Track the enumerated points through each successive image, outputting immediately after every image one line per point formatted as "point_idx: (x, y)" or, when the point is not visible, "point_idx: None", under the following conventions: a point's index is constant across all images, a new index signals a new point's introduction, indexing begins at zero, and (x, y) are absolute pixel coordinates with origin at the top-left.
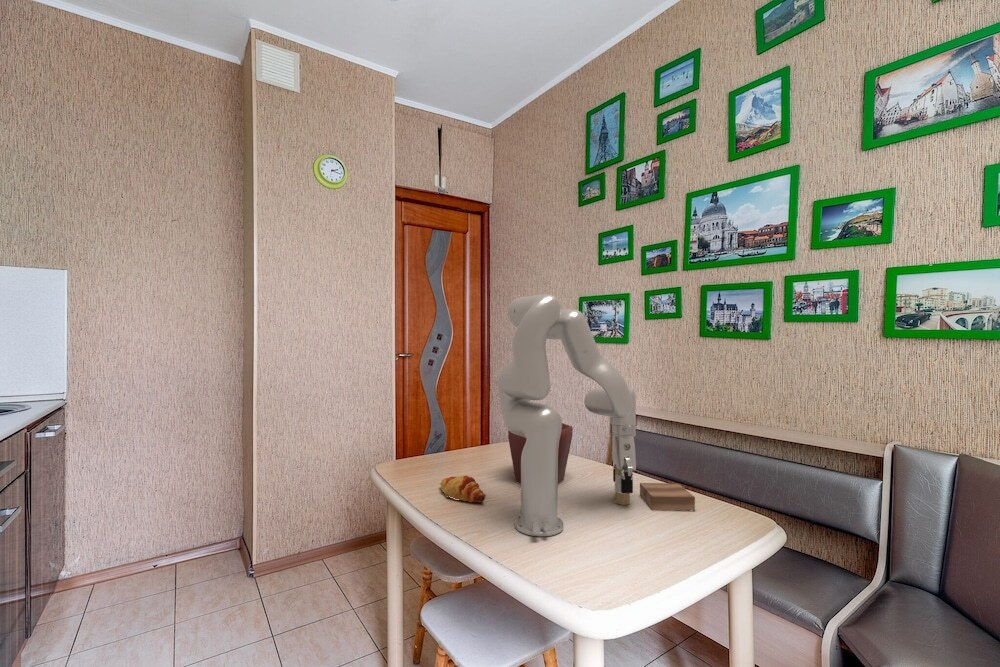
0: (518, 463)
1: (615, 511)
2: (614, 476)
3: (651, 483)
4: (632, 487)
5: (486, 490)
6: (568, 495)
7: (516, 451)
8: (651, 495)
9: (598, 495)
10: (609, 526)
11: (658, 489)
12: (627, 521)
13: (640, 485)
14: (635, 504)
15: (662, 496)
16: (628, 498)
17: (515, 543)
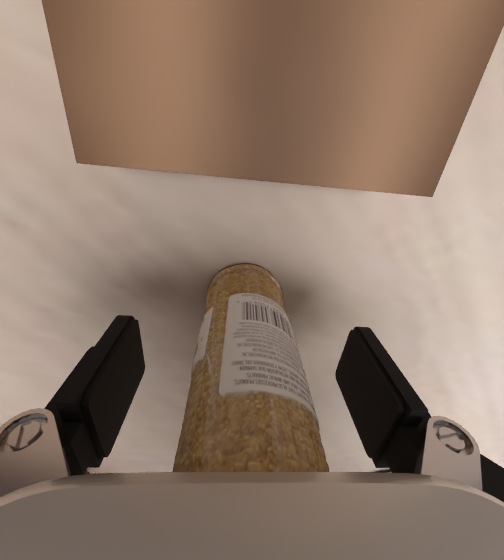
0: None
1: (339, 345)
2: (131, 401)
3: (58, 13)
4: (386, 353)
5: None
6: (168, 439)
7: None
8: (409, 193)
9: (153, 361)
10: (449, 388)
11: (274, 27)
12: (440, 332)
13: (105, 164)
14: (273, 240)
15: (466, 93)
16: (274, 290)
17: None
